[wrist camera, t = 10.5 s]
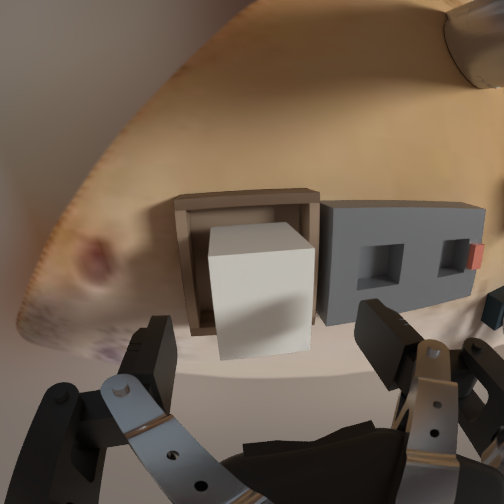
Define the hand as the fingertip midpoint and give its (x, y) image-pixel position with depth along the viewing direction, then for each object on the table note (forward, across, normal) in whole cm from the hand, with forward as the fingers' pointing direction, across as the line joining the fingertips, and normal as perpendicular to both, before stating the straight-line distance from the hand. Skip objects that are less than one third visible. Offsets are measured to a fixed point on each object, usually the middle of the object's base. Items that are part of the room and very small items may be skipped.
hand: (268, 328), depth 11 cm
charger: (+10, 0, +1) cm, 11 cm away
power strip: (+11, -14, +1) cm, 18 cm away
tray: (+11, 0, +1) cm, 11 cm away
